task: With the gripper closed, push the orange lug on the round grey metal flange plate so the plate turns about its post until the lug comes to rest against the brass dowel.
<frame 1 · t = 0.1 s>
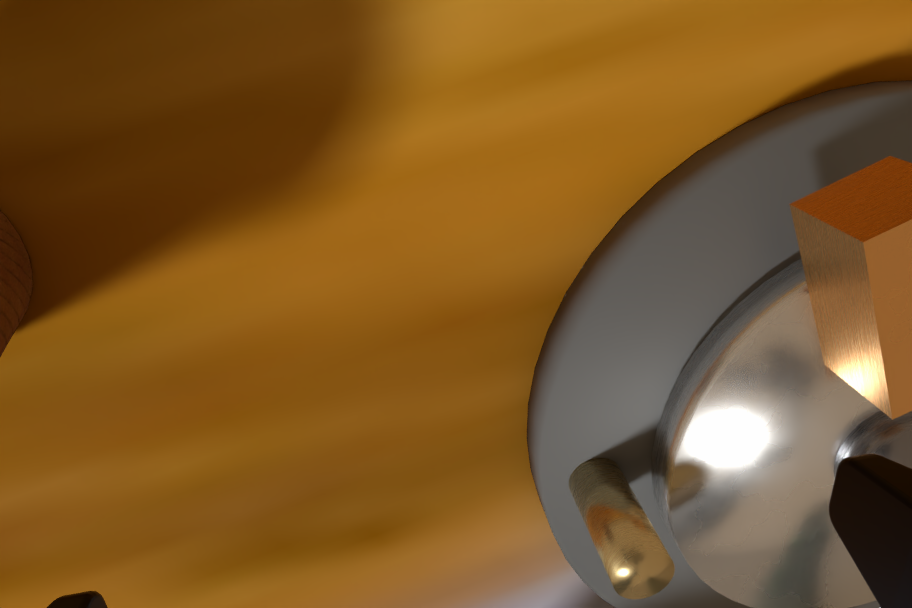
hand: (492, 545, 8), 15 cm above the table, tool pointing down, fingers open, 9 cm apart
flange plate: (896, 434, 23), point 5 cm above the table, hinge at 0.0°
base plate: (816, 389, 28), on the table
dowel: (577, 445, 27), resting on base plate
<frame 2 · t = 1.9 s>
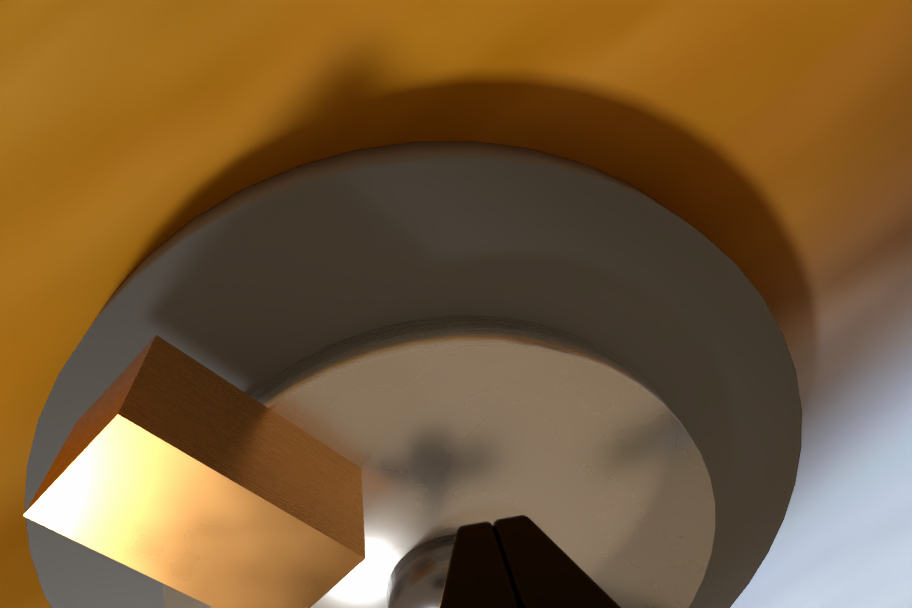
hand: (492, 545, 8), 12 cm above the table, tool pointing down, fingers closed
flange plate: (421, 582, 19), point 5 cm above the table, hinge at 0.0°
base plate: (436, 491, 23), on the table
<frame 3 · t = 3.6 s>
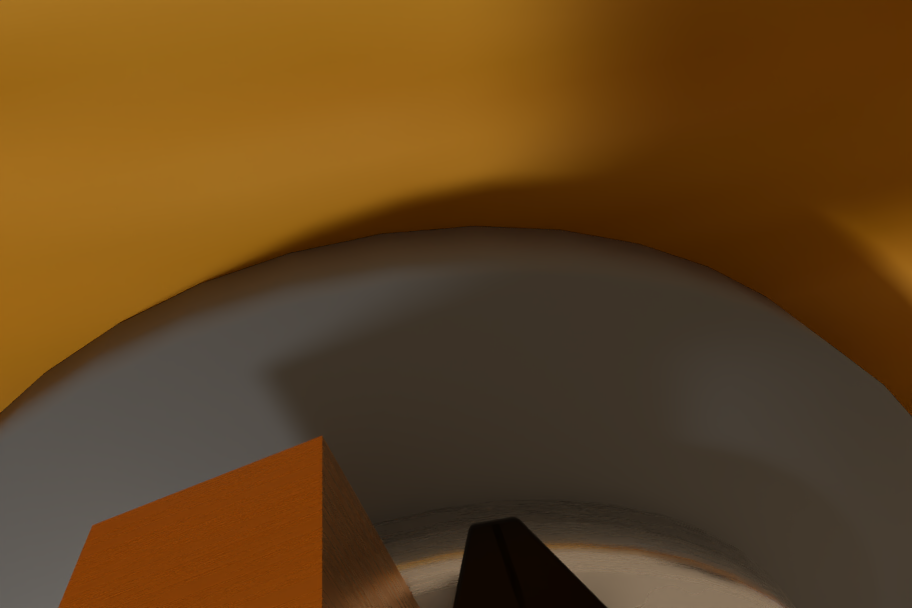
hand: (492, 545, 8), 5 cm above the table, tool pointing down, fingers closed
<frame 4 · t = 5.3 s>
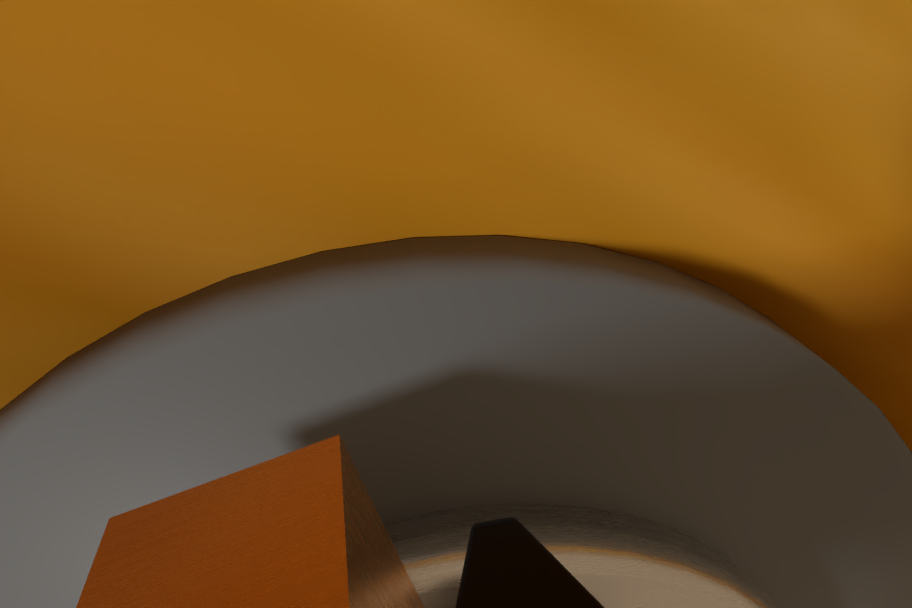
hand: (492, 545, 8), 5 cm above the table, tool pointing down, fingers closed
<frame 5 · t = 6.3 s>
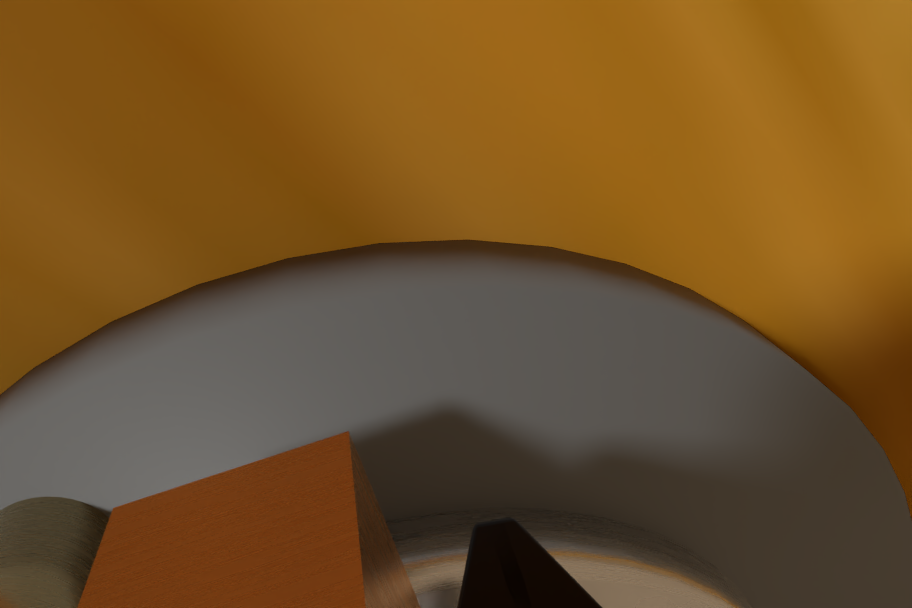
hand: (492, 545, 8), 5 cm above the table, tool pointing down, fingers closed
dowel: (88, 465, 13), resting on base plate
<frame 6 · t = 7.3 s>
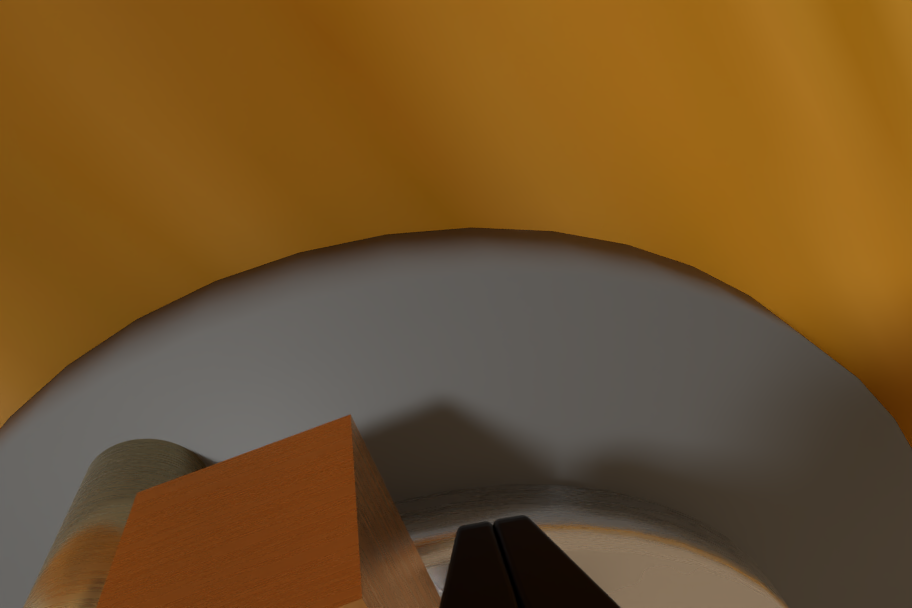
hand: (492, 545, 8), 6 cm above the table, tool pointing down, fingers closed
dowel: (173, 417, 13), resting on base plate
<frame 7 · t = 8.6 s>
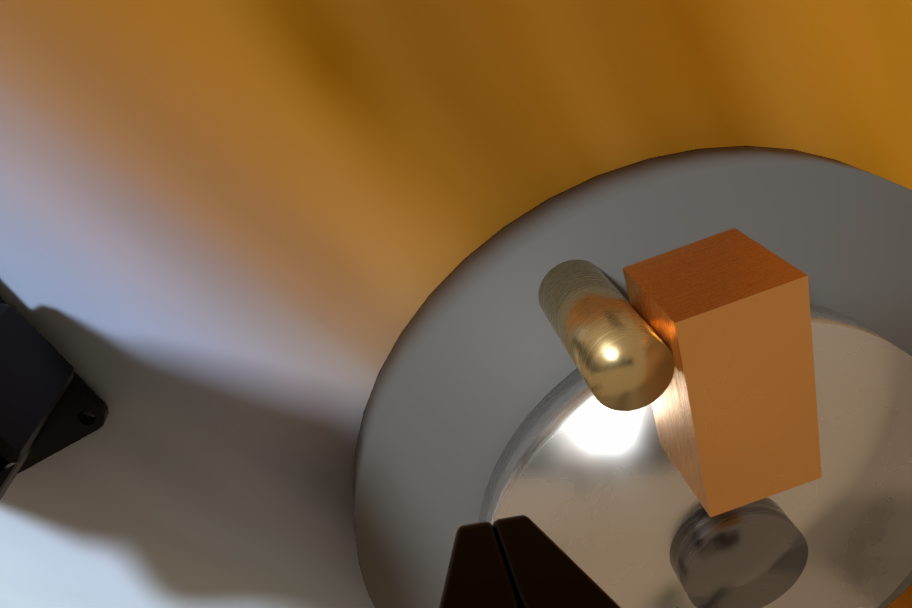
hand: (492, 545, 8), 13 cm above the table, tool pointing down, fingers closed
flange plate: (734, 526, 21), point 5 cm above the table, hinge at 60.1°, touching dowel
base plate: (673, 463, 26), on the table
dowel: (552, 264, 21), resting on base plate
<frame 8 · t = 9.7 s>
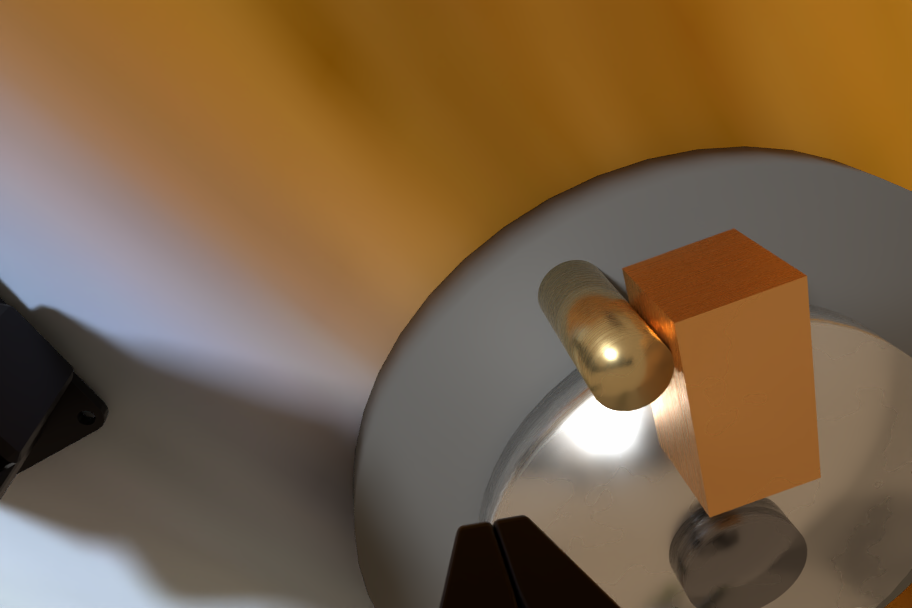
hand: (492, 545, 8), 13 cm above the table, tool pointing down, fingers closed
flange plate: (733, 526, 21), point 5 cm above the table, hinge at 60.1°, touching dowel
base plate: (673, 463, 26), on the table
dowel: (552, 265, 21), resting on base plate
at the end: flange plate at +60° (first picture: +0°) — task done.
